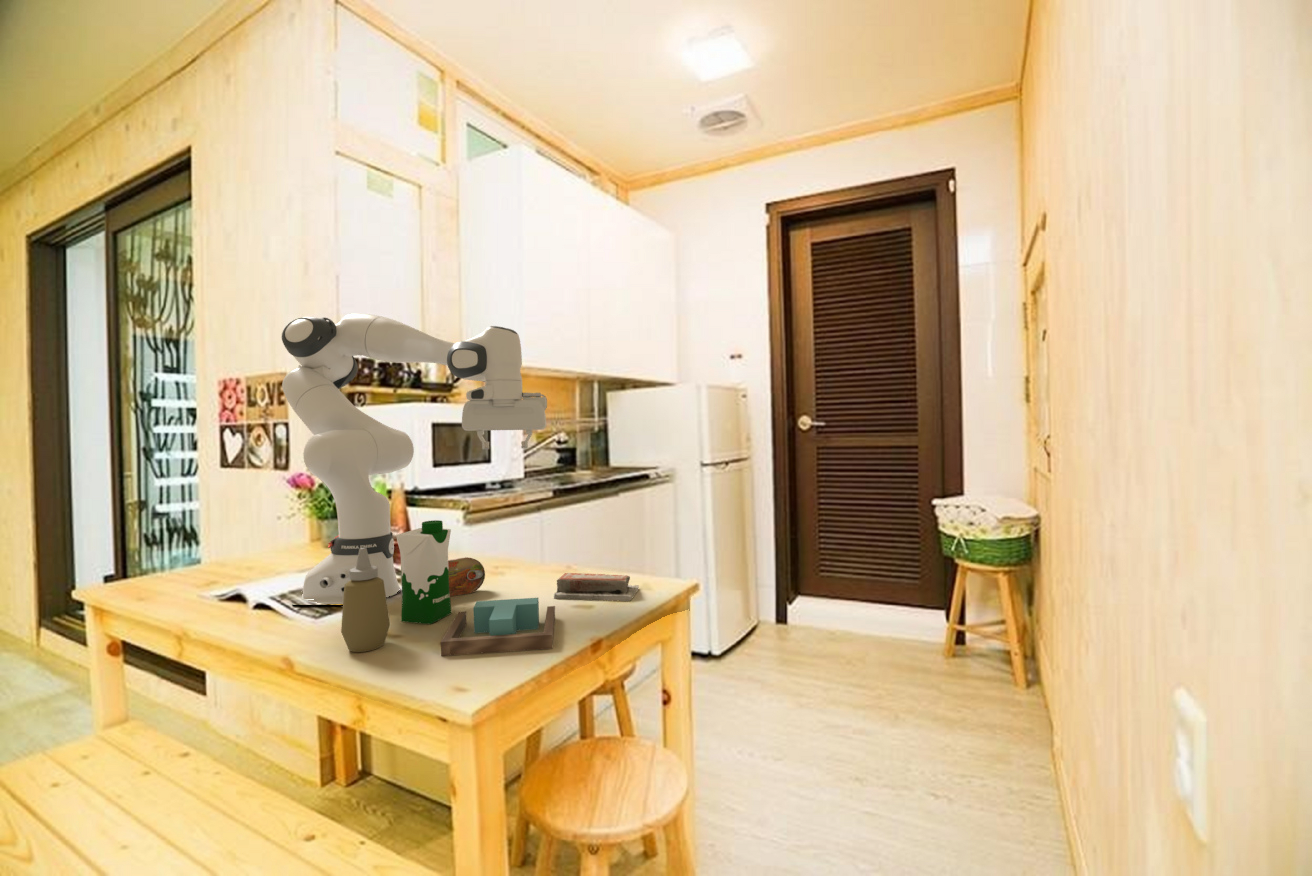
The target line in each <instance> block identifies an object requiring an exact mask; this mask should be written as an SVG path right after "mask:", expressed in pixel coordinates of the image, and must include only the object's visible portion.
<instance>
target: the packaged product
mask: <svg viewBox="0 0 1312 876" xmlns="http://www.w3.org/2000/svg"><path fill="white" fill-rule="evenodd" d="M630 580H631V577H630V575H624V574H623V575H622V574H605V573H584V572H583V573H580V572H565V573H564V574H562V575H561V576H559V578H557V580H556V587H557V588H556V589H557V590H556V592H554V594H553V599H555V600H556V599H557V600H560V599H561V600H577V601H581V600H582V601H599V600H603V601H604V602H631V601H632V599H633V598H634V596H636V594H637V593H636V592H638V591H639V589H640V586H639V585H636V584H635V585H631V584H629V583H630ZM638 588H639V589H638ZM632 597H633V598H632ZM605 600H606V601H605ZM607 600H608V601H607ZM612 600H613V601H612ZM617 600H619V601H617ZM630 600H631V601H630Z"/></svg>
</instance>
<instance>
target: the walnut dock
mask: <svg viewBox="0 0 1312 876" xmlns="http://www.w3.org/2000/svg"><path fill="white" fill-rule="evenodd" d="M467 619H468V617H467V610H466V611H463V610H462V611H458V612H457V614H456V615H455V617H454V619H453V621H452V622H451V624H450V625H449V627H448V629H447V631H446V632H445V634H444V635H443V637H442V639H441V641H440V657H448V656H451V657H452V656H464V655H479V654H493V653H494V654H495V653H505V652H507V653H508V652H509V651H510V652H522V651H523V650H525V651H535V650H537V649H539V650H549V649H551V650H552V649H553V646H552V645H553V644H554V635H555V634H554V633H555V623H556V606H555V605H550V606H547V608H546V615H545V620H544V621H545V622H544V627H543V632H541V631H540V632H529V633H516V634H510V635H494V636H490V635H484V636H483V635H482V636H481V635H480V636H469V637H468V636H467V637H461V635H462V634H463V631H465V630H464V629H465V628H466V625H467V624H468V623H467ZM510 652H509V653H510Z"/></svg>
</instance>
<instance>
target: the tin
mask: <svg viewBox="0 0 1312 876" xmlns="http://www.w3.org/2000/svg"><path fill="white" fill-rule="evenodd" d="M448 568H449V593H450V598H451V597H456V596H465V595H468V594H472V593H475V592H476V591H477V590H479V589H480V588H481V587H482V585H483V583H484V581H485V578H486V571H485V567H484V565H483V564H482V562H481V561H479V560H478V559H476V558H472V557H467V556H465V557H459V558H452V559H448Z"/></svg>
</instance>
